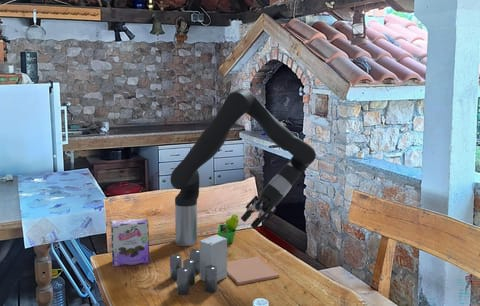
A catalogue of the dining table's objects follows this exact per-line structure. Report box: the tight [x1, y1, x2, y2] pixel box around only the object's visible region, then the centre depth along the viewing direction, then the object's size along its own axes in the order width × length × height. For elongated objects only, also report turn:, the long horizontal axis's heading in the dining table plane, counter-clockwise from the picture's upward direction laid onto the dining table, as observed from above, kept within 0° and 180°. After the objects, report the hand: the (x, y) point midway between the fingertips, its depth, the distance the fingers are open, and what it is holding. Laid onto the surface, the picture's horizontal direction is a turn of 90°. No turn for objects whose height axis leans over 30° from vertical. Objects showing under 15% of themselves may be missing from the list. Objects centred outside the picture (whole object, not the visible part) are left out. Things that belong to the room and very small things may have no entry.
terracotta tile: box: [227, 256, 280, 286], centre depth 176 cm, size 18×16×1 cm
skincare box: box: [199, 234, 228, 282], centre depth 168 cm, size 8×6×15 cm
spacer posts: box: [169, 248, 218, 296], centre depth 165 cm, size 20×13×8 cm, turn 24°
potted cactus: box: [217, 214, 240, 244], centre depth 207 cm, size 11×9×11 cm
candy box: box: [110, 218, 150, 268], centre depth 182 cm, size 14×6×16 cm, turn 105°
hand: (247, 223), depth 171 cm, fingers open, 8 cm apart
